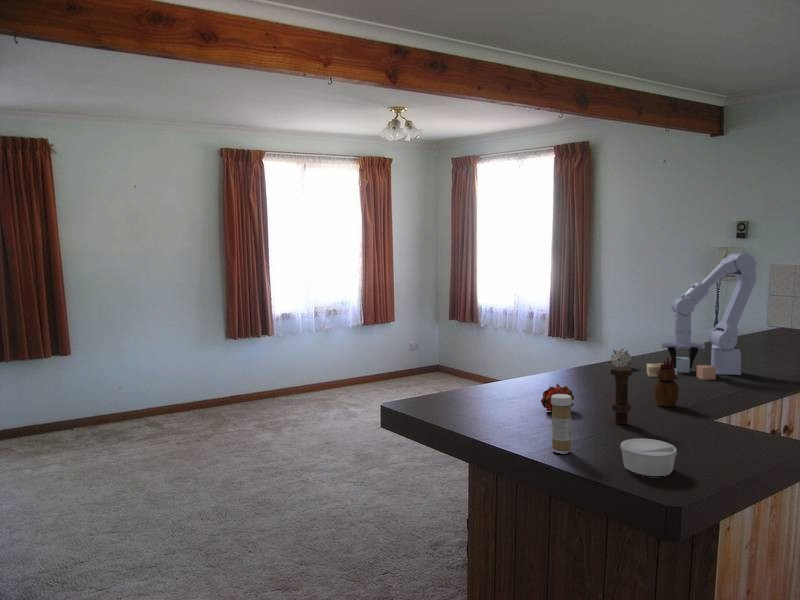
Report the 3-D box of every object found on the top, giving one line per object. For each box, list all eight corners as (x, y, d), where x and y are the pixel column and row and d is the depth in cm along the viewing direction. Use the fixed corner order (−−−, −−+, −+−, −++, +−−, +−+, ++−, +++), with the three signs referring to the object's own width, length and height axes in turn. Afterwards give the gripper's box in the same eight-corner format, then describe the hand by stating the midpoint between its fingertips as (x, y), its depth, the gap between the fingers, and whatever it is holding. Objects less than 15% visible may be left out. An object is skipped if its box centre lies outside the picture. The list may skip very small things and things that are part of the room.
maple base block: (667, 372, 227) (667, 363, 226) (670, 376, 220) (669, 366, 220) (646, 373, 228) (646, 363, 228) (649, 376, 222) (648, 367, 222)
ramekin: (665, 484, 125) (666, 458, 125) (611, 471, 133) (611, 447, 132) (684, 468, 133) (684, 444, 133) (632, 457, 141) (632, 435, 140)
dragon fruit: (574, 413, 184) (547, 427, 177) (554, 393, 189) (527, 405, 182) (586, 394, 179) (558, 407, 172) (565, 374, 184) (537, 386, 177)
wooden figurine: (677, 404, 186) (678, 354, 185) (679, 408, 181) (680, 357, 180) (653, 402, 189) (653, 353, 187) (654, 407, 183) (654, 356, 182)
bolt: (628, 427, 164) (629, 371, 162) (609, 425, 166) (609, 369, 165) (633, 422, 169) (633, 367, 167) (614, 419, 171) (614, 365, 170)
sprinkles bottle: (557, 447, 149) (557, 392, 148) (575, 451, 146) (575, 395, 145) (547, 452, 145) (547, 396, 144) (565, 456, 142) (565, 398, 141)
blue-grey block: (688, 370, 231) (688, 357, 231) (689, 373, 227) (689, 359, 227) (674, 370, 233) (675, 356, 232) (676, 372, 228) (676, 359, 228)
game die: (626, 380, 237) (639, 361, 231) (605, 372, 237) (617, 354, 231) (624, 365, 244) (636, 346, 238) (603, 357, 244) (615, 339, 238)
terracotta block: (709, 378, 220) (709, 364, 219) (715, 381, 215) (715, 367, 215) (696, 379, 220) (696, 365, 219) (702, 381, 215) (702, 367, 215)
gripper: (662, 332, 226) (662, 369, 227) (706, 332, 222) (706, 370, 224) (660, 329, 233) (660, 365, 234) (702, 330, 229) (702, 366, 230)
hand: (682, 367), depth 229 cm, fingers closed on blue-grey block, 5 cm apart
